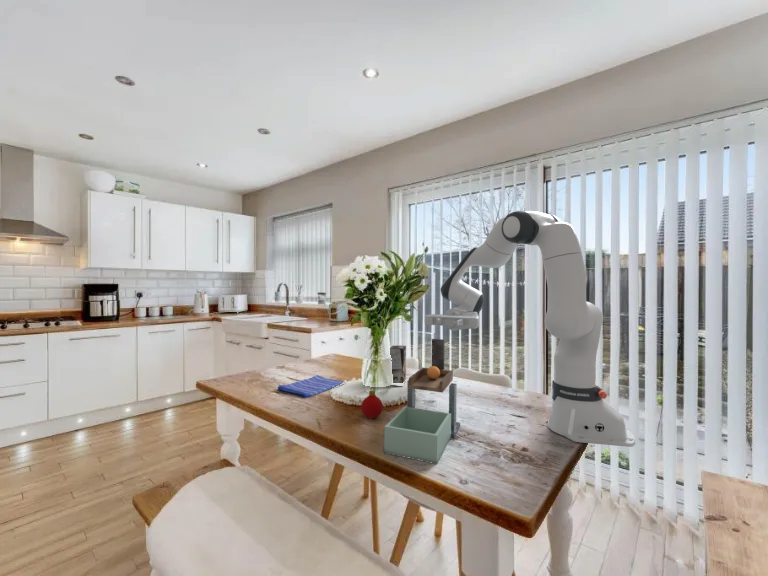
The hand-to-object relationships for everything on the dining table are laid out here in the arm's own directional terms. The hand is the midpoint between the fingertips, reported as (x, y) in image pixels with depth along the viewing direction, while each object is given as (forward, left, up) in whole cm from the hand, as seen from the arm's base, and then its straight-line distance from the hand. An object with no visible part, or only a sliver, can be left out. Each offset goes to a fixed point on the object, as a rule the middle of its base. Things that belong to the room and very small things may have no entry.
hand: (447, 322), depth 127 cm
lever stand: (0, +21, -30) cm, 37 cm away
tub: (0, +34, -30) cm, 45 cm away
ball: (0, +19, -13) cm, 23 cm away
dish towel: (+57, +1, -31) cm, 65 cm away
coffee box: (+26, -19, -30) cm, 44 cm away
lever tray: (0, +21, -16) cm, 26 cm away
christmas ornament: (+20, +21, -30) cm, 42 cm away
